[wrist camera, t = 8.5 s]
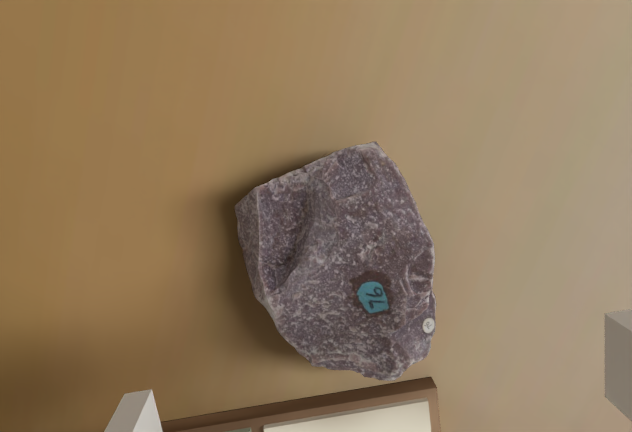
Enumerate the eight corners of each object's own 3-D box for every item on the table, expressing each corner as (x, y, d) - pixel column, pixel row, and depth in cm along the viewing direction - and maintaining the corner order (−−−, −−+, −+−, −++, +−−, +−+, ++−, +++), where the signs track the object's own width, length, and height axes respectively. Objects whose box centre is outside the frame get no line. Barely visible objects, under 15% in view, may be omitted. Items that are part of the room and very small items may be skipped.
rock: (311, 379, 27) (318, 435, 22) (217, 193, 24) (203, 215, 19) (448, 319, 26) (482, 365, 22) (370, 124, 23) (391, 131, 19)
